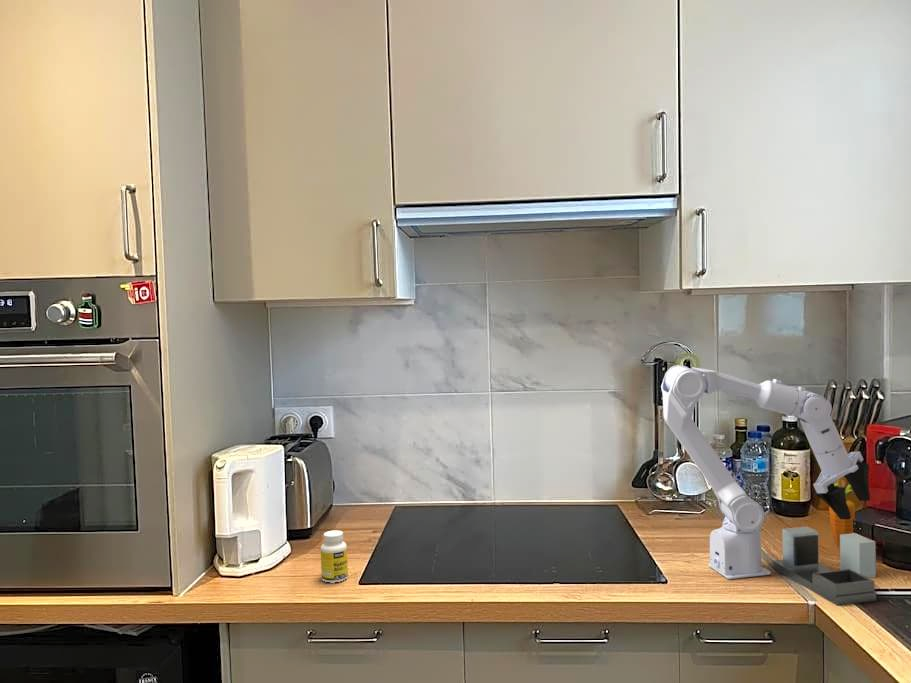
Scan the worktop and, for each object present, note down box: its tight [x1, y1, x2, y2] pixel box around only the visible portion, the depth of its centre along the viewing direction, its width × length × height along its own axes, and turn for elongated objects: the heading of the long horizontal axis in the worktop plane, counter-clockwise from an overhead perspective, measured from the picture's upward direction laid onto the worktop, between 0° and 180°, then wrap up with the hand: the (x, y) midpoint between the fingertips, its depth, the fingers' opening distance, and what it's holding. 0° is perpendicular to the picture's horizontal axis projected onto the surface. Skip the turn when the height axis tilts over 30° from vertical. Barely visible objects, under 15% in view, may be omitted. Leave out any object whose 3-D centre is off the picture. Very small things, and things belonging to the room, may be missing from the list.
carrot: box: [828, 482, 856, 550], centre depth 156 cm, size 5×5×15 cm
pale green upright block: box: [839, 532, 877, 578], centre depth 144 cm, size 4×6×7 cm
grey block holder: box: [772, 526, 877, 606], centre depth 139 cm, size 8×19×8 cm, turn 10°
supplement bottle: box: [320, 529, 349, 584], centre depth 151 cm, size 5×5×10 cm
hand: (855, 509), depth 145 cm, fingers open, 7 cm apart
